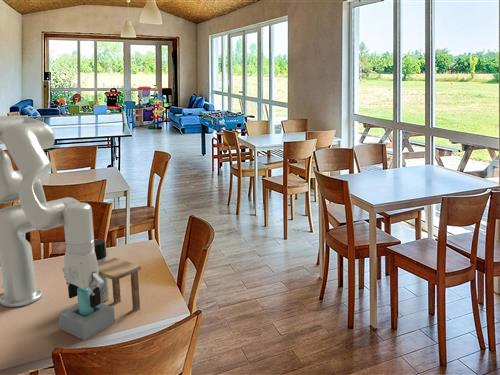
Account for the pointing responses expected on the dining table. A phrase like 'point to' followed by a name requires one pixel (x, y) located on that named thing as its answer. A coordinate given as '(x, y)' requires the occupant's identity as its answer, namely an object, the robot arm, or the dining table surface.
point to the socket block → (86, 320)
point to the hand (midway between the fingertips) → (84, 301)
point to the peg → (84, 302)
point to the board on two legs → (118, 270)
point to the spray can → (101, 257)
